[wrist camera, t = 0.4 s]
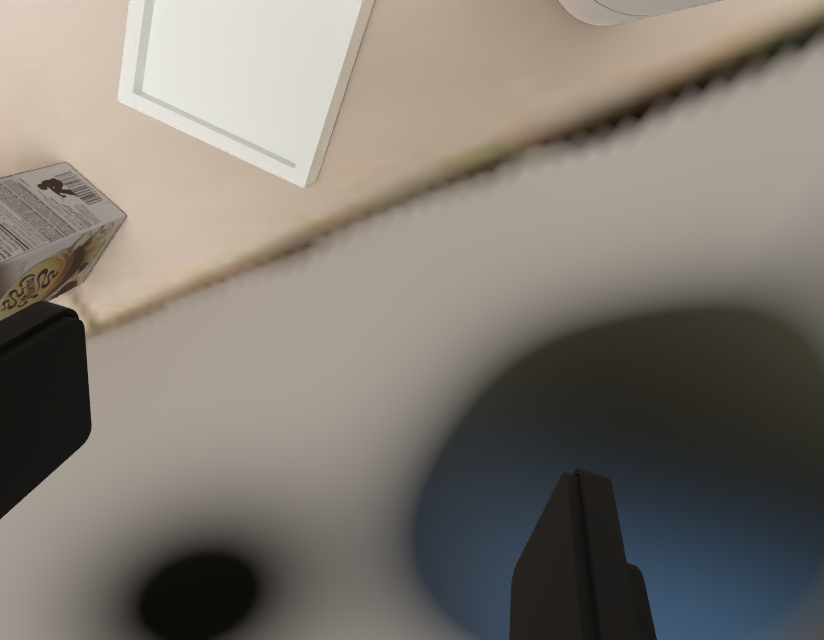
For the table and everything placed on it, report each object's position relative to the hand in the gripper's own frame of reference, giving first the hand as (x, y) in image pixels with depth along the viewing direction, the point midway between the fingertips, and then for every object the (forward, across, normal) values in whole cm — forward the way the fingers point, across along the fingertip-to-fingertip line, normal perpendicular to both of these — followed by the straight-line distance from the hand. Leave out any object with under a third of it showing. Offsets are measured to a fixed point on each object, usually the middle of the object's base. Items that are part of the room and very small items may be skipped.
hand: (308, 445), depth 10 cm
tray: (+30, +16, -4) cm, 34 cm away
